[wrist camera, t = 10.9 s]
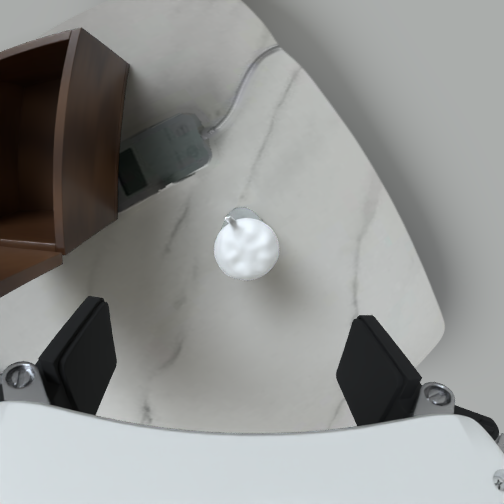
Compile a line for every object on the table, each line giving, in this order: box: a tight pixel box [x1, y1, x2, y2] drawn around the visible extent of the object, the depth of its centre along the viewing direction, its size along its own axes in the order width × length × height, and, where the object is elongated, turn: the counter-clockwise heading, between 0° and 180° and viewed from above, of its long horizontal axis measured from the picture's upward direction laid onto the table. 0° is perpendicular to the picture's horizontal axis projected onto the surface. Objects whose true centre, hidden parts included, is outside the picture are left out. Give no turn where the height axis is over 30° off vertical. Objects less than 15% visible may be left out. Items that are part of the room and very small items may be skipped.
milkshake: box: [214, 207, 280, 281], centre depth 24 cm, size 4×5×10 cm
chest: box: [0, 28, 129, 256], centre depth 19 cm, size 16×14×11 cm
